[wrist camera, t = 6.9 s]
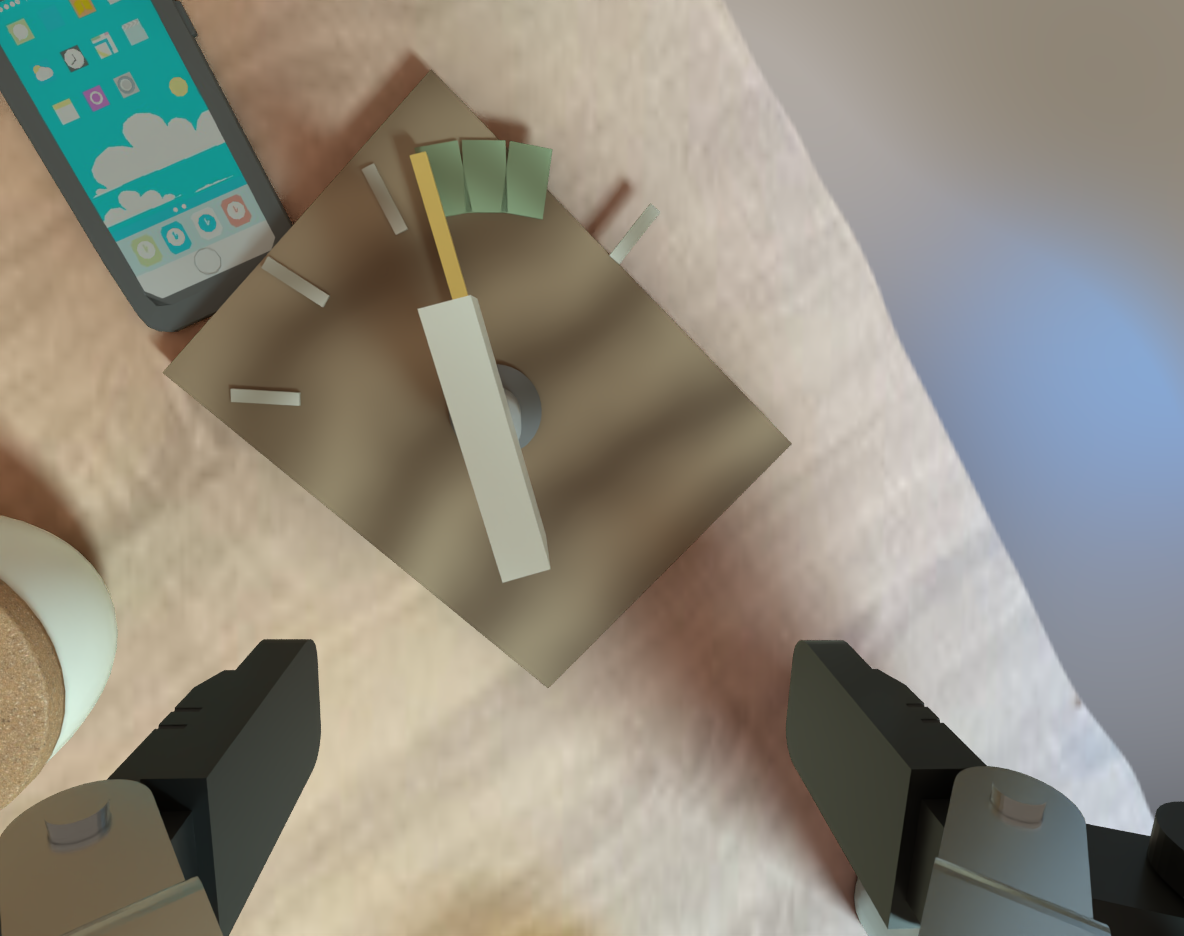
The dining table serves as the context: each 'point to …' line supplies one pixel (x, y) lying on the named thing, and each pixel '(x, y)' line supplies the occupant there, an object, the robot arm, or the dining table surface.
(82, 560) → the lidded bowl
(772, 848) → the dining table surface
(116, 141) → the smartphone
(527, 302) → the tuner board
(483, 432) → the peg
